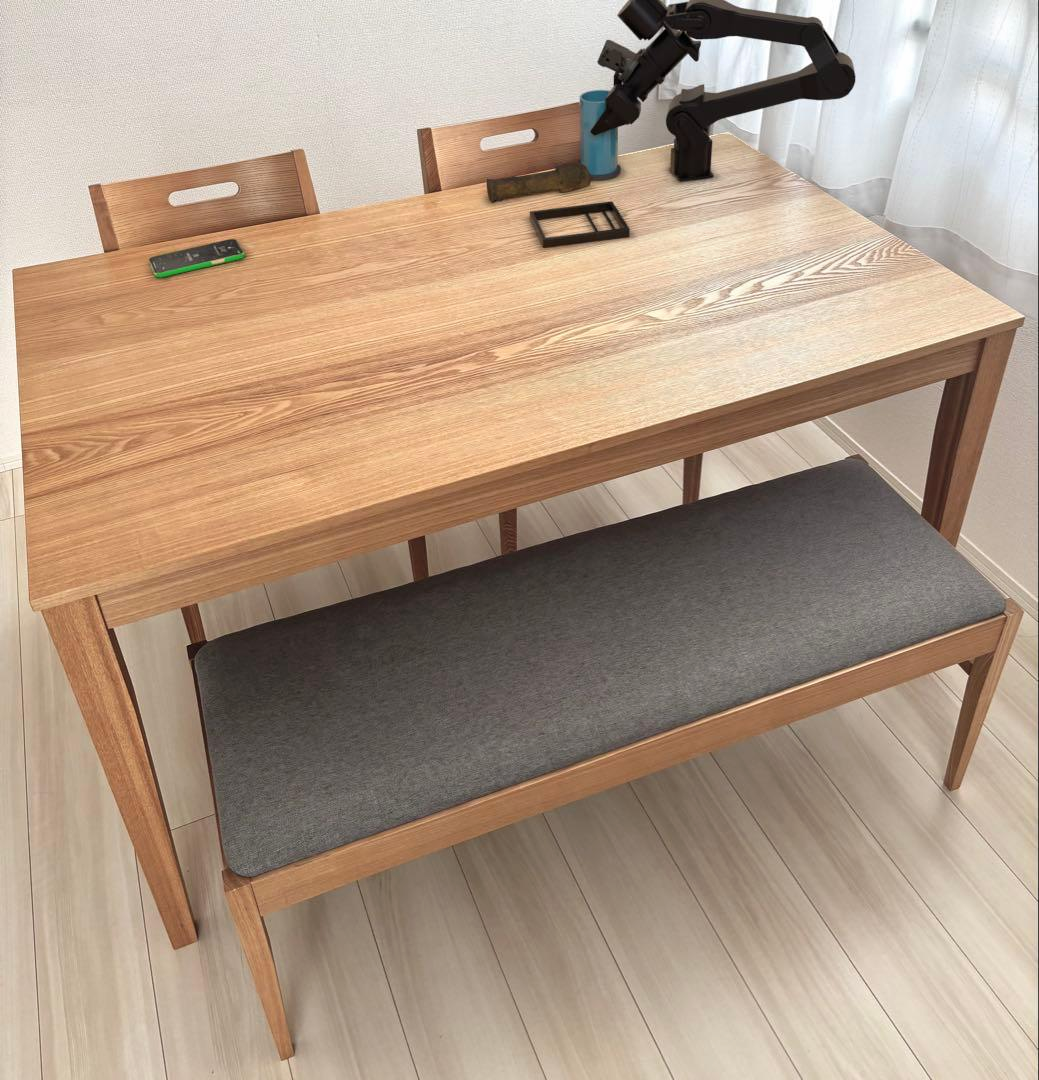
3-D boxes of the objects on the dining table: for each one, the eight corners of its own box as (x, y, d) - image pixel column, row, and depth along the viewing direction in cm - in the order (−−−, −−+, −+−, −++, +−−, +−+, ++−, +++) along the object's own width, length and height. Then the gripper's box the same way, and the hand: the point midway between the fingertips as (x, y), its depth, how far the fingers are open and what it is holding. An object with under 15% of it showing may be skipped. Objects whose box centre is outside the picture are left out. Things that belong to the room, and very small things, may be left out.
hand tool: (490, 205, 187) (488, 180, 184) (486, 197, 190) (484, 171, 187) (593, 192, 189) (593, 167, 186) (588, 184, 192) (588, 159, 189)
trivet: (614, 162, 199) (614, 158, 199) (625, 177, 193) (625, 173, 193) (573, 167, 198) (573, 163, 198) (582, 183, 192) (582, 178, 192)
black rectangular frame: (612, 209, 183) (612, 201, 182) (629, 237, 174) (629, 228, 173) (530, 219, 181) (529, 211, 180) (543, 248, 172) (542, 239, 171)
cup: (624, 166, 195) (625, 94, 187) (601, 178, 192) (600, 104, 183) (597, 158, 199) (596, 87, 191) (573, 169, 195) (571, 97, 187)
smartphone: (147, 257, 176) (235, 236, 180) (148, 262, 176) (236, 242, 180) (154, 274, 170) (245, 253, 174) (156, 279, 171) (246, 258, 175)
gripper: (631, 10, 185) (571, 75, 194) (619, 40, 171) (555, 109, 181) (674, 56, 189) (613, 119, 198) (666, 90, 175) (601, 155, 184)
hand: (595, 124), depth 190 cm, fingers open, 9 cm apart
